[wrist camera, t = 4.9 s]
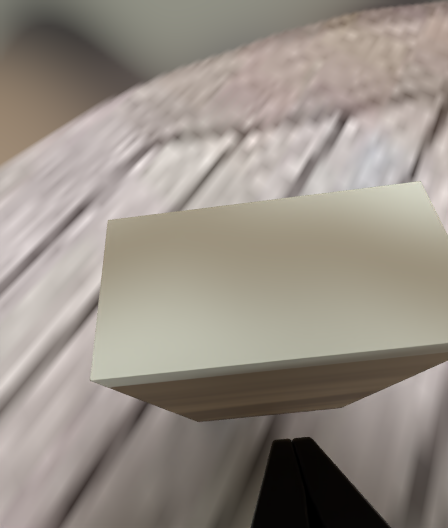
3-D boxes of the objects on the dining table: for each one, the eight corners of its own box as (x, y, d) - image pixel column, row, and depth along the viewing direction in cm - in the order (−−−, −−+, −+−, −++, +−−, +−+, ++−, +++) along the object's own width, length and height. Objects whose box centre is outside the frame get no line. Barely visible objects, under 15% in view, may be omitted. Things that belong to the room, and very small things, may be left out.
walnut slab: (340, 407, 16) (499, 337, 5) (198, 421, 16) (89, 380, 6) (324, 337, 18) (420, 180, 7) (195, 351, 18) (107, 220, 7)
